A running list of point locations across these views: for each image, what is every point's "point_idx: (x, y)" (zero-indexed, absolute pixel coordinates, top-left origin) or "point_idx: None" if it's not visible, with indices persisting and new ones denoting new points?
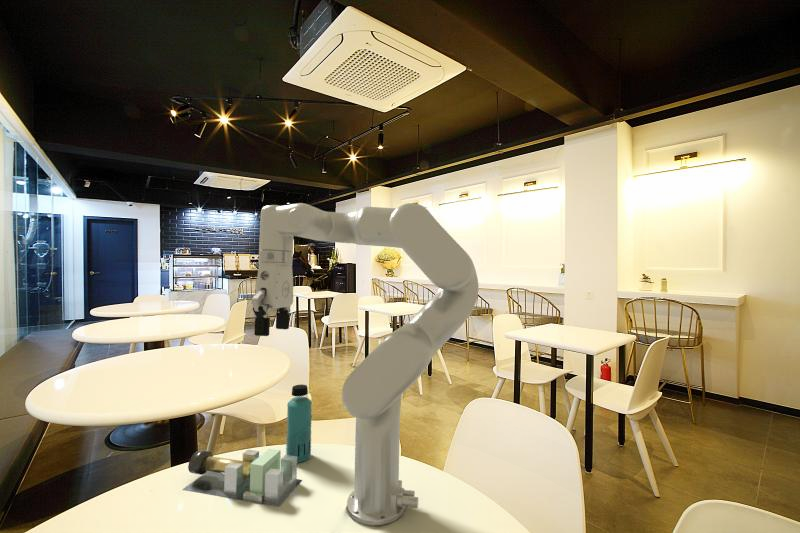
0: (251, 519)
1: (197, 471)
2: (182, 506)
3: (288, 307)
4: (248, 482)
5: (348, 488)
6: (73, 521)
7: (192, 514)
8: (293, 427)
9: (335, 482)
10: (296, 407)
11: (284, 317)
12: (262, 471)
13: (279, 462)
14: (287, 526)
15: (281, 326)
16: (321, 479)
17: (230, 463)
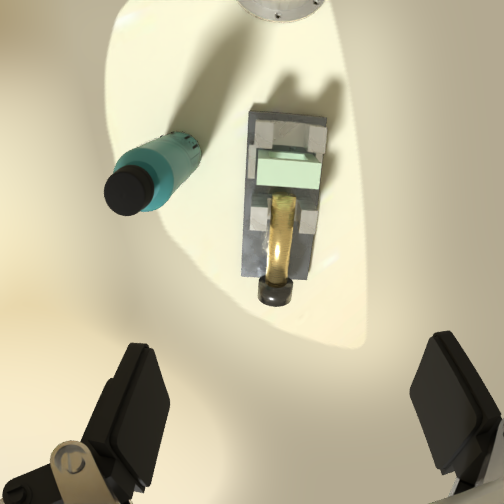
0: (344, 150)
1: (291, 280)
2: (328, 258)
3: (79, 490)
4: None
5: (241, 33)
6: (359, 341)
7: (343, 235)
8: (185, 168)
9: (228, 59)
10: (172, 173)
11: (133, 431)
12: (319, 161)
13: (261, 154)
14: (349, 93)
15: (158, 388)
16: (224, 86)
17: (303, 231)
